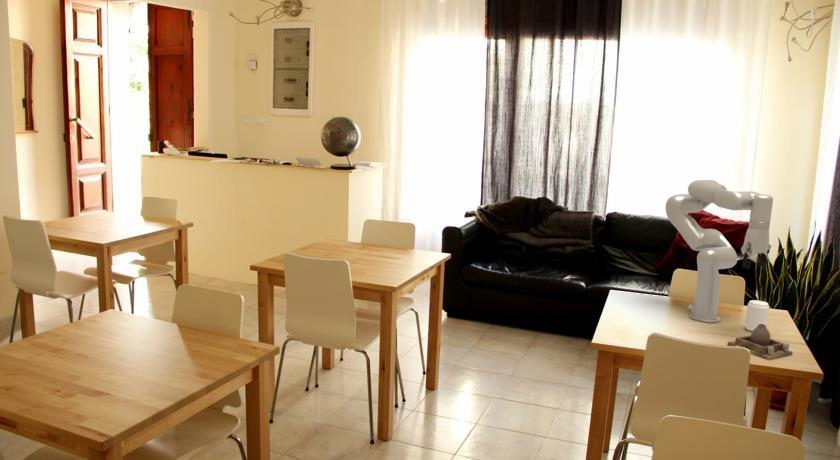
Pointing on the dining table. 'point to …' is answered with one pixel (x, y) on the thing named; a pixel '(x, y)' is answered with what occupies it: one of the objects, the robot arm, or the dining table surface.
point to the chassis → (763, 348)
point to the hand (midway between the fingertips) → (753, 267)
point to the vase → (760, 335)
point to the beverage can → (756, 314)
